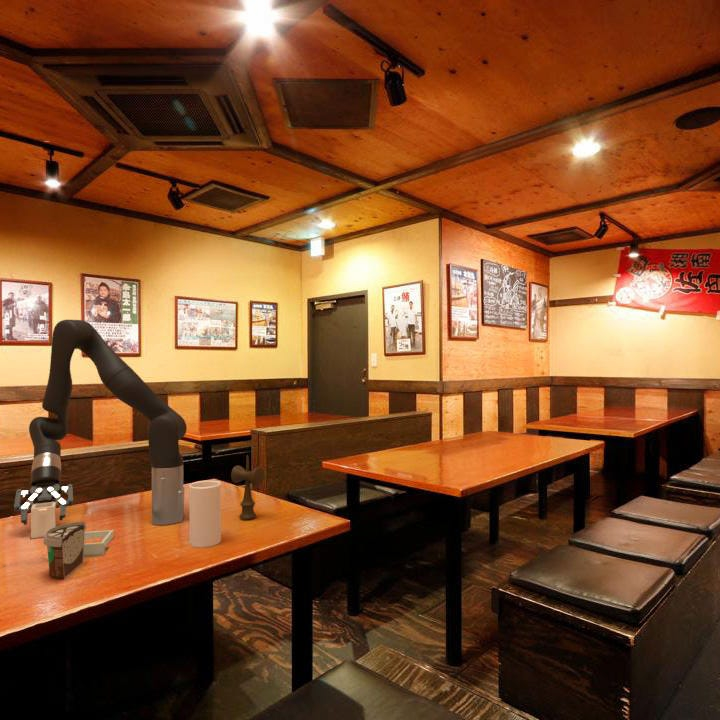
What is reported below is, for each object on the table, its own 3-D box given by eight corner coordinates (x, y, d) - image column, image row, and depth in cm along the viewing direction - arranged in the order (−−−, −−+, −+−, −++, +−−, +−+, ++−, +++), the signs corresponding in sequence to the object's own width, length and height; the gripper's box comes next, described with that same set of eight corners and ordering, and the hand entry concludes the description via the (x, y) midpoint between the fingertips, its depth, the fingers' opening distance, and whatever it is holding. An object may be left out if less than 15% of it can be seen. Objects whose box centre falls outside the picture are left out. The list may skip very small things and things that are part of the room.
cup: (192, 549, 133) (192, 488, 133) (187, 539, 140) (187, 482, 140) (223, 544, 137) (223, 485, 137) (217, 535, 144) (217, 479, 144)
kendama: (254, 523, 154) (254, 458, 155) (229, 519, 158) (229, 455, 159) (265, 517, 160) (265, 454, 160) (241, 513, 164) (241, 452, 164)
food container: (60, 561, 125) (60, 521, 125) (85, 560, 126) (85, 520, 126) (32, 583, 113) (32, 538, 113) (60, 582, 113) (60, 537, 113)
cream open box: (56, 529, 145) (56, 501, 145) (54, 536, 139) (54, 507, 139) (32, 532, 142) (32, 504, 142) (30, 539, 136) (30, 510, 136)
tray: (113, 541, 139) (113, 529, 139) (103, 555, 129) (103, 543, 129) (72, 544, 137) (72, 532, 137) (58, 559, 127) (58, 546, 127)
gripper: (16, 467, 144) (11, 517, 134) (73, 462, 151) (72, 510, 141) (18, 481, 149) (13, 532, 139) (73, 476, 156) (73, 523, 146)
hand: (43, 521), depth 140 cm, fingers open, 8 cm apart
